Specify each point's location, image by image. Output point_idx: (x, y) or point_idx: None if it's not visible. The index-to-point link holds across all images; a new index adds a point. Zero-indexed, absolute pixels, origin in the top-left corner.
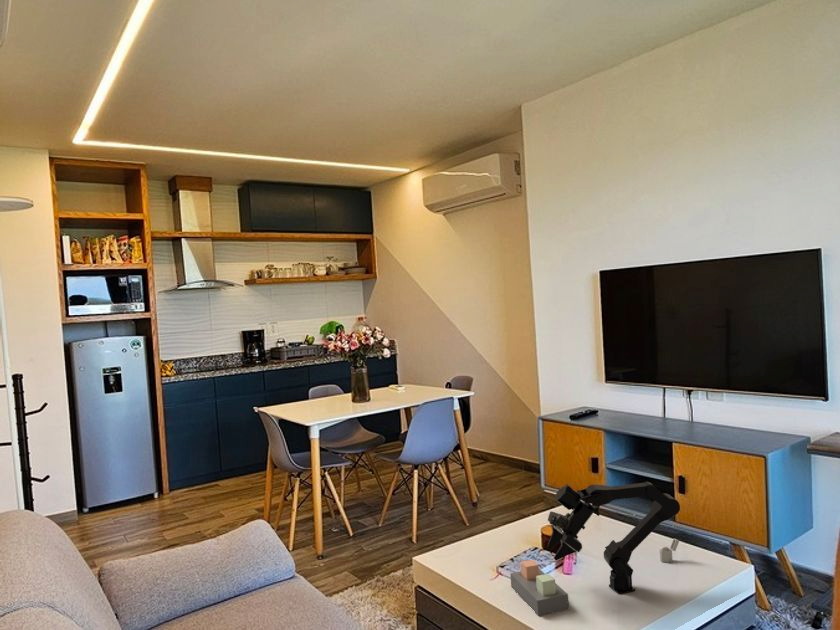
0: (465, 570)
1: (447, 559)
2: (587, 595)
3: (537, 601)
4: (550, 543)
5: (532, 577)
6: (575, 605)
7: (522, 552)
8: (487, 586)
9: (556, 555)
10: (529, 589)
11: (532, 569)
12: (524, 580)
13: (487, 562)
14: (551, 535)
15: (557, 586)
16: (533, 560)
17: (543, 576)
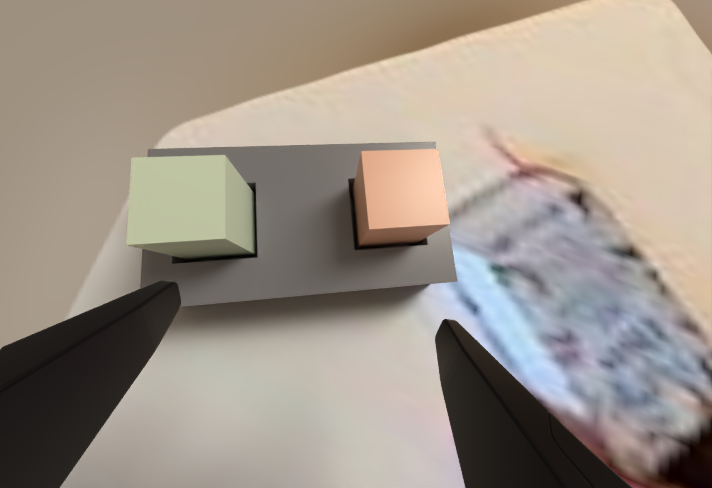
0: (565, 79)
1: (648, 56)
2: (261, 436)
3: (151, 152)
4: (464, 371)
5: (356, 208)
6: (203, 346)
7: (684, 314)
8: (441, 103)
9: (108, 305)
10: (261, 158)
11: (361, 196)
12: (352, 171)
13: (613, 162)
14: (585, 460)
15: (239, 292)
16: (434, 223)
17: (199, 192)
